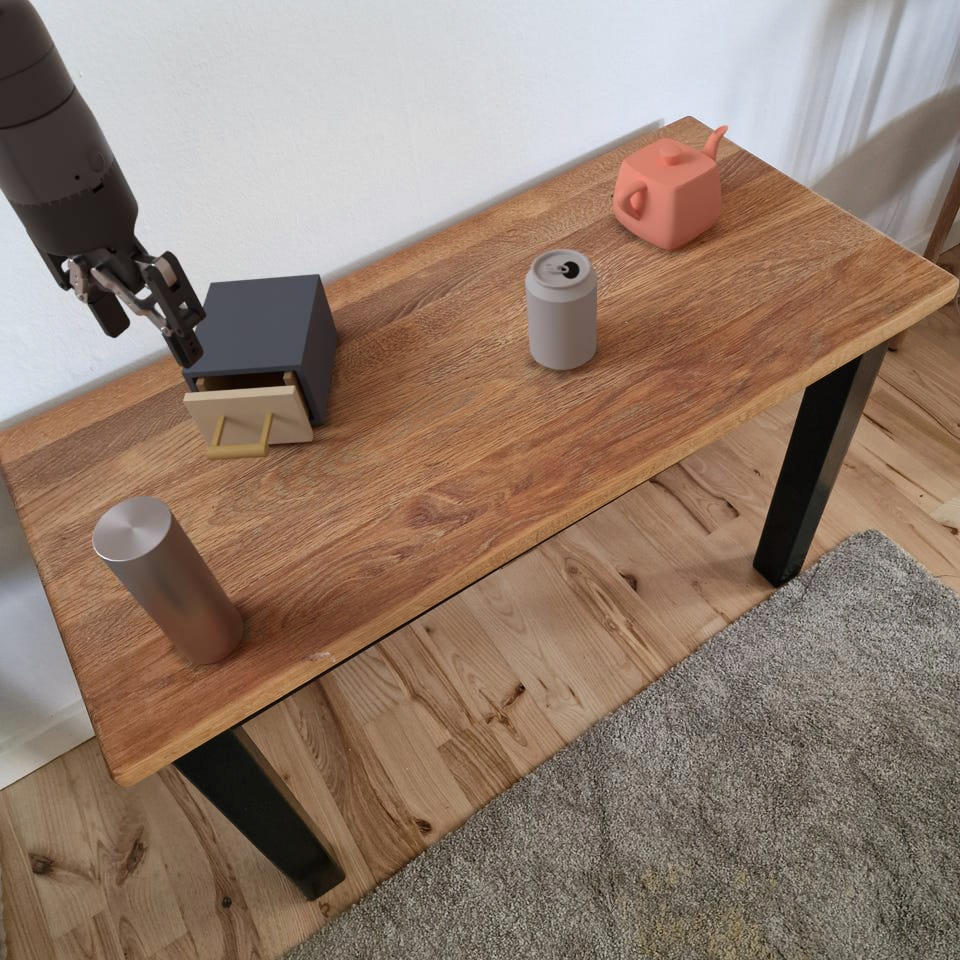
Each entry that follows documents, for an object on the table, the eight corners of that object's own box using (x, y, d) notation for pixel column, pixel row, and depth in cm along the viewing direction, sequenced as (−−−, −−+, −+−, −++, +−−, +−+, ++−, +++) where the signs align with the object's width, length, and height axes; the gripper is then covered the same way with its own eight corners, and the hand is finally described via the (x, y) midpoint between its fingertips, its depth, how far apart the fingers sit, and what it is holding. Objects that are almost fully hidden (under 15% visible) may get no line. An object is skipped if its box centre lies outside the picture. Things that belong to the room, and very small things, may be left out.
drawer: (305, 482, 84) (284, 435, 79) (197, 488, 85) (169, 442, 80) (327, 354, 96) (311, 305, 91) (232, 361, 97) (210, 313, 91)
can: (598, 373, 91) (600, 286, 82) (530, 377, 92) (524, 291, 82) (593, 327, 96) (594, 240, 86) (529, 332, 96) (523, 245, 87)
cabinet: (323, 424, 90) (301, 364, 83) (212, 432, 91) (180, 372, 84) (338, 335, 100) (319, 273, 92) (236, 342, 101) (210, 282, 93)
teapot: (586, 232, 107) (586, 158, 99) (687, 176, 113) (695, 102, 105) (648, 272, 101) (654, 197, 93) (751, 211, 106) (765, 135, 98)
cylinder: (172, 666, 74) (81, 563, 61) (187, 607, 77) (104, 498, 64) (237, 663, 73) (160, 559, 60) (249, 604, 77) (179, 493, 64)
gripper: (-55, 174, 56) (64, 349, 69) (84, 222, 51) (186, 403, 63) (30, 119, 60) (129, 296, 72) (169, 158, 54) (249, 342, 67)
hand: (155, 345), depth 68 cm, fingers open, 8 cm apart
